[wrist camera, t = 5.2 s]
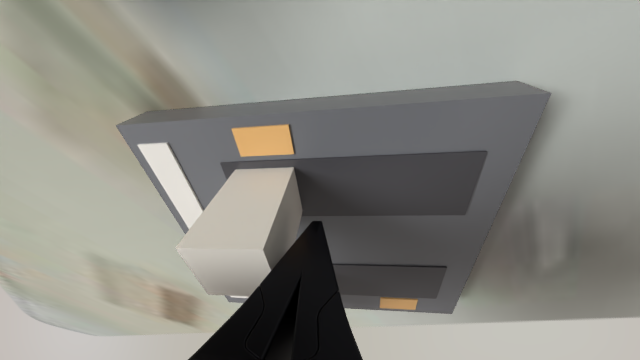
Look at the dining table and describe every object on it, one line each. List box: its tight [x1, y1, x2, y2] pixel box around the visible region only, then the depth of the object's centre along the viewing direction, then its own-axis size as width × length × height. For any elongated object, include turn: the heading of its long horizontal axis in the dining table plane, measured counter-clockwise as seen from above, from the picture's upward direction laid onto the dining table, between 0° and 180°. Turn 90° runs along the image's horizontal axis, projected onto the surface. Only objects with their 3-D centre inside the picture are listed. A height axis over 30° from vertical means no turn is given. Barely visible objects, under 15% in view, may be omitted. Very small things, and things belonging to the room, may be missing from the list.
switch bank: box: [116, 81, 551, 314], centre depth 15 cm, size 18×16×2 cm
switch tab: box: [175, 167, 303, 296], centre depth 10 cm, size 3×3×5 cm
